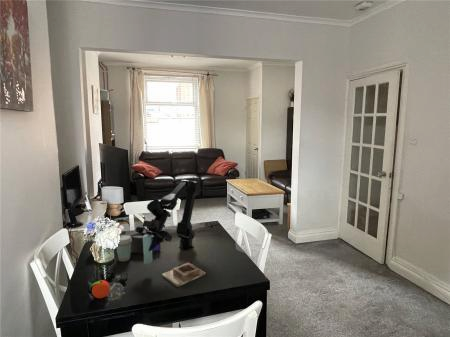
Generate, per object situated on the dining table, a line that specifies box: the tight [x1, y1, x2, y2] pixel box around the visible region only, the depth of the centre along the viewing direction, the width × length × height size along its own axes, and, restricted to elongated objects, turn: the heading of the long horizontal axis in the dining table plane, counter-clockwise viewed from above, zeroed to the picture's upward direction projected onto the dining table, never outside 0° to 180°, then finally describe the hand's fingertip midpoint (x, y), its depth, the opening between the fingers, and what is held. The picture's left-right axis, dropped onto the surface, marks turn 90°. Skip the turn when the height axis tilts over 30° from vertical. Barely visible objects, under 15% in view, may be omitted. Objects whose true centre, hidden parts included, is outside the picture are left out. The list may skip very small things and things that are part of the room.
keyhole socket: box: [161, 262, 207, 288], centre depth 140 cm, size 16×13×4 cm
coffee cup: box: [116, 234, 132, 262], centre depth 156 cm, size 8×8×12 cm
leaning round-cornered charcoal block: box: [131, 235, 162, 255], centre depth 164 cm, size 16×5×9 cm, turn 98°
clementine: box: [89, 279, 111, 299], centre depth 122 cm, size 8×7×7 cm
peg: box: [143, 235, 154, 265], centre depth 140 cm, size 4×4×13 cm
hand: (145, 250), depth 139 cm, fingers closed on peg, 4 cm apart
